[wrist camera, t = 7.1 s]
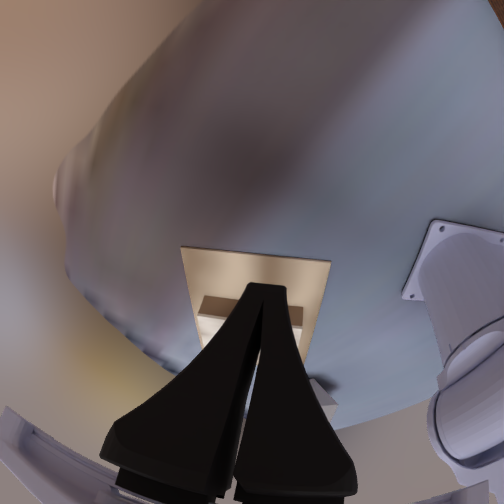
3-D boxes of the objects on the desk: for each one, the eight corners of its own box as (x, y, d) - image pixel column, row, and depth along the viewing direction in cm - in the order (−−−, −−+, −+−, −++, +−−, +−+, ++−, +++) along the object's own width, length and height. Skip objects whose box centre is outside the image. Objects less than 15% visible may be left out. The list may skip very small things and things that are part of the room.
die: (293, 398, 39) (329, 443, 32) (246, 410, 34) (282, 464, 27) (317, 361, 37) (360, 408, 29) (268, 370, 32) (313, 430, 25)
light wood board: (330, 261, 21) (331, 262, 21) (303, 365, 31) (302, 366, 31) (181, 246, 23) (180, 247, 23) (203, 352, 33) (203, 353, 33)
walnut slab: (302, 329, 23) (292, 369, 27) (303, 306, 25) (294, 349, 29) (196, 315, 24) (206, 357, 28) (204, 295, 26) (212, 338, 30)
